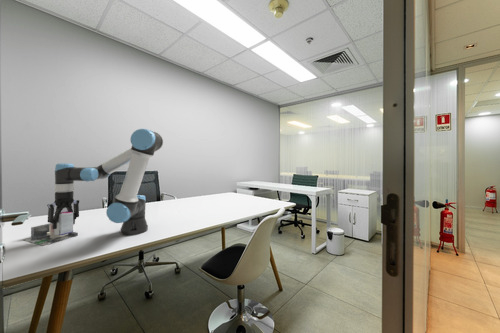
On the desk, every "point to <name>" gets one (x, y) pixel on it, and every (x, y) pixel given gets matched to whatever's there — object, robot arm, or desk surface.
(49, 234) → the plunger
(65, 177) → the robot arm
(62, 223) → the supplement box
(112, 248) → the desk surface
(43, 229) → the gauge base
